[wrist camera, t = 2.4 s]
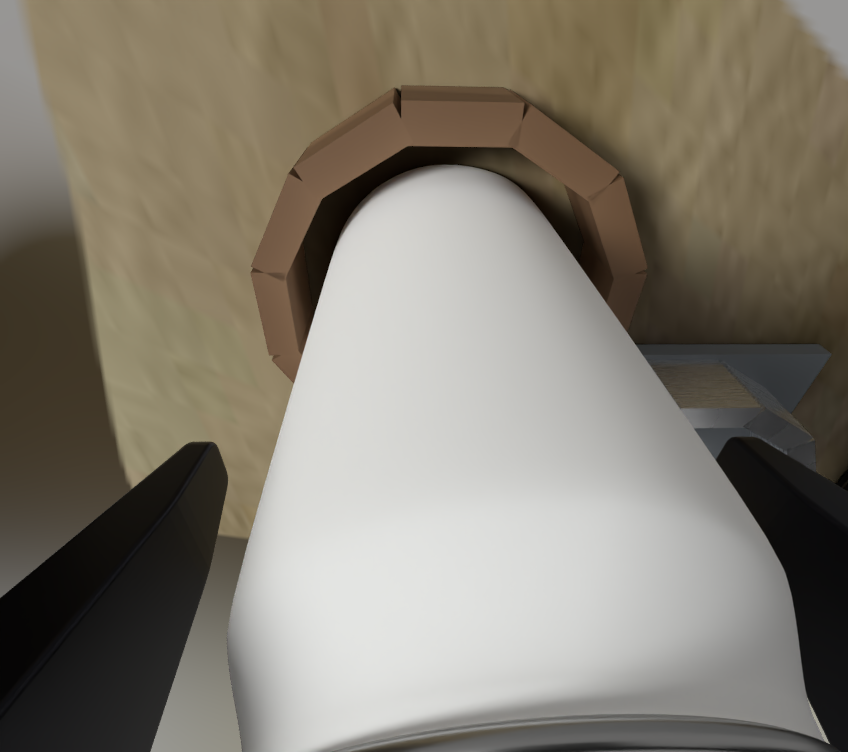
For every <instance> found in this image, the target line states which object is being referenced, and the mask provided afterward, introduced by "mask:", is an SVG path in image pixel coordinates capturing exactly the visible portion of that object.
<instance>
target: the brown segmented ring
mask: <svg viewBox="0 0 848 752" xmlns="http://www.w3.org/2000/svg"><path fill="white" fill-rule="evenodd" d="M407 146H446V147H512V148H514V149H515V150H517V151H518V152H519V153H521V154H522V155H524V156H525V157H527V158H528V159H529V160H531V161H532V162H534V163H535V164H536V165H538V166H539V167H541V168H542V169H544V170H545V171H546V172H548V173H549V174H551V175H552V176H553V177H555V178H556V179H558V180H559V181H561V182H562V183H563V184H564V185H565V188H566V191H567V194H568V197H569V200H570V202H571V205H572V208H573V211H574V214H575V217H576V220H577V223H578V225H579V228H580V231H581V234H582V237H583V240H584V243H583V248H582V252H581V256H580V260H579V265H580V266H581V268H582V269H583V271H584V272H585V273H586V275H587V276H588V278H589V279H590V281H591V282H592V283H593V285H594V286H595V288H596V289H597V290H598V292H599V293H600V295H601V296H602V298H603V299H604V300H605V302H606V303H607V305H608V306H609V308H610V309H611V310H612V312H613V313H614V315H615V316H616V318H617V319H618V320H619V322H620V323H621V325H622V326H623V328H624V329H625V330H626V332H628V329H629V326H630V323H631V321H632V318H633V315H634V312H635V309H636V306H637V303H638V300H639V297H640V294H641V291H642V288H643V285H644V282H645V280H646V277H647V273H646V272H645V271H644V270H645V269H647V268H648V267H647V264H646V260H645V256H644V252H643V249H642V245H641V241H640V237H639V234H638V230H637V226H636V222H635V219H634V215H633V211H632V207H631V204H630V200H629V196H628V192H627V189H626V185H625V181H624V178H623V177H622V176H621V175H619V174H618V173H619V171H618V170H617V169H615V168H614V167H613V166H611V165H610V164H609V163H607V162H606V161H605V160H604V159H602V158H601V157H600V156H598V155H597V154H596V153H594V152H593V151H592V150H590V149H589V148H588V147H586V146H585V145H584V144H582V143H581V142H580V141H579V140H577V139H576V138H575V137H573V136H572V135H571V134H569V133H568V132H567V131H565V130H564V129H563V128H561V127H560V126H559V125H557V124H556V123H555V122H554V121H552V120H551V119H550V118H548V117H547V116H546V115H544V114H543V113H542V112H540V111H539V110H538V109H536V108H535V107H534V106H532V105H531V104H530V103H528V102H527V101H525V100H524V99H523V98H521V97H520V96H518V95H517V94H515V93H514V92H513V91H511V90H510V91H508V90H506V89H505V88H504V87H455V86H405V85H402V87H401V99H400V97H399V95H398V93H397V91H396V89H395V88H393V89H392V90H390V91H389V92H387V93H385V94H384V95H382V96H381V97H379V98H378V99H376V100H375V101H373V102H372V103H370V104H369V105H367V106H366V107H364V108H363V109H361V110H360V111H358V112H357V113H355V114H354V115H352V116H351V117H349V118H348V119H346V120H345V121H343V122H342V123H340V124H339V125H337V126H336V127H334V128H333V129H331V130H330V131H328V132H327V133H325V134H324V135H322V136H321V137H319V138H317V139H316V140H314V141H313V142H311V144H310V145H309V147H308V148H307V149H306V150H305V152H304V153H303V154H302V156H301V157H300V158H299V160H298V161H297V163H296V164H295V165H294V167H293V168H292V170H291V171H290V172H289V174H288V176H287V179H286V181H285V184H284V186H283V189H282V191H281V194H280V196H279V198H278V201H277V203H276V206H275V208H274V211H273V213H272V216H271V218H270V221H269V223H268V226H267V228H266V231H265V233H264V235H263V238H262V240H261V243H260V245H259V248H258V250H257V253H256V255H255V258H254V260H253V263H252V265H251V267H253V269H252V271H251V277H252V281H253V286H254V290H255V295H256V299H257V304H258V308H259V312H260V317H261V321H262V326H263V330H264V335H265V339H266V343H267V348H268V352H269V355H274V356H273V359H272V361H273V362H274V363H275V364H276V365H277V366H278V367H279V368H280V369H281V370H282V371H283V373H284V374H285V375H286V376H287V377H288V378H289V379H290V380H291V381H292V382H293V383H294V382H295V379H296V375H297V372H298V369H299V365H300V362H301V358H302V355H303V352H304V348H305V345H306V341H307V338H308V335H309V331H310V328H311V325H312V321H313V318H314V315H315V310H314V308H313V307H312V301H311V294H310V287H309V280H308V273H307V266H306V259H305V252H304V245H303V239H304V237H305V234H306V232H307V230H308V228H309V226H310V223H311V221H312V219H313V217H314V215H315V213H316V210H317V208H318V206H319V204H320V202H321V200H322V198H324V197H326V196H327V195H329V194H331V193H332V192H334V191H335V190H337V189H339V188H340V187H342V186H344V185H345V184H347V183H348V182H350V181H352V180H353V179H355V178H357V177H358V176H360V175H361V174H363V173H365V172H366V171H368V170H370V169H371V168H373V167H374V166H376V165H378V164H379V163H381V162H383V161H384V160H386V159H387V158H389V157H391V156H392V155H394V154H395V153H397V152H399V151H400V150H402V149H404V148H405V147H407Z"/></svg>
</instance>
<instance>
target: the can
mask: <svg viewBox="0 0 848 752" xmlns="http://www.w3.org/2000/svg"><path fill="white" fill-rule="evenodd" d="M227 650H228V663H229V672H230V679H231V685H232V691H233V697H234V702H235V707H236V713H237V719H238V725H239V730H240V738H241V745H242V752H840V751H839V750H838V749H836V748H835V747H833V746H832V745H830V744H828V743H826V742H825V741H824V739H823V737H822V735H821V732H820V730H819V728H818V726H817V724H816V722H815V720H814V717H813V715H812V712H811V710H810V707H809V703H808V699H807V694H806V690H805V684H804V678H803V671H802V663H801V655H800V647H799V639H798V632H797V624H796V617H795V611H794V606H793V600H792V595H791V591H790V588H789V584H788V580H787V577H786V574H785V571H784V569H783V567H782V565H781V563H780V561H779V559H778V557H777V556H776V554H775V552H774V550H773V548H772V546H771V545H770V543H769V541H768V539H767V537H766V536H765V534H764V532H763V531H762V529H761V528H760V526H759V525H758V523H757V522H756V520H755V519H754V517H753V516H752V514H751V512H750V511H749V509H748V508H747V506H746V505H745V503H744V502H743V500H742V499H741V497H740V496H739V494H738V492H737V491H736V489H735V488H734V487H733V485H732V484H731V482H730V481H729V479H728V478H727V476H726V475H725V473H724V472H723V470H722V469H721V468H720V466H719V465H718V463H717V462H716V460H715V459H714V457H713V456H712V454H711V453H710V451H709V450H708V449H707V447H706V446H705V444H704V443H703V441H702V440H701V438H700V437H699V435H698V434H697V432H696V431H695V430H694V428H693V427H692V425H691V424H690V422H689V421H688V419H687V418H686V417H685V415H684V414H683V412H682V411H681V409H680V408H679V406H678V405H677V404H676V402H675V401H674V399H673V398H672V396H671V395H670V394H669V392H668V391H667V389H666V388H665V386H664V385H663V383H662V382H661V381H660V379H659V378H658V376H657V375H656V373H655V372H654V371H653V369H652V368H651V366H650V365H649V363H648V362H647V360H646V359H645V358H644V356H643V355H642V353H641V352H640V350H639V349H638V348H637V346H636V345H635V343H634V342H633V340H632V339H631V338H630V336H629V335H628V333H627V332H626V330H625V329H624V328H623V326H622V325H621V323H620V322H619V320H618V319H617V318H616V316H615V315H614V313H613V312H612V310H611V309H610V308H609V306H608V305H607V303H606V302H605V300H604V299H603V298H602V296H601V295H600V293H599V292H598V290H597V289H596V288H595V286H594V285H593V283H592V282H591V281H590V279H589V278H588V276H587V275H586V273H585V272H584V271H583V269H582V268H581V266H580V265H579V264H578V262H577V261H576V259H575V258H574V256H573V255H572V254H571V252H570V251H569V249H568V248H567V247H566V245H565V244H564V242H563V241H562V240H561V238H560V237H559V235H558V234H557V233H556V231H555V230H554V228H553V227H552V226H551V224H550V223H549V221H548V220H547V219H546V217H545V216H544V215H543V213H542V212H541V211H540V210H539V208H538V207H537V206H536V204H535V203H534V202H533V201H532V200H531V199H530V197H529V196H528V195H527V194H526V193H525V192H524V191H523V190H522V189H520V188H519V187H518V186H517V185H516V184H514V183H513V182H511V181H510V180H508V179H507V178H505V177H503V176H501V175H498V174H496V173H493V172H490V171H487V170H484V169H480V168H475V167H469V166H461V165H431V166H425V167H420V168H416V169H413V170H410V171H407V172H404V173H402V174H399V175H397V176H395V177H393V178H391V179H390V180H388V181H386V182H384V183H383V184H381V185H380V186H379V187H377V188H376V189H375V190H373V191H372V192H371V193H370V194H369V195H367V196H366V197H365V198H364V199H363V200H362V201H361V203H360V204H359V205H358V206H357V207H356V208H355V210H354V211H353V212H352V214H351V215H350V217H349V218H348V220H347V222H346V224H345V225H344V227H343V229H342V231H341V234H340V236H339V238H338V241H337V244H336V247H335V250H334V253H333V256H332V259H331V262H330V265H329V268H328V272H327V275H326V278H325V281H324V285H323V288H322V291H321V295H320V298H319V301H318V305H317V308H316V311H315V315H314V318H313V321H312V325H311V328H310V331H309V335H308V338H307V341H306V345H305V348H304V352H303V355H302V358H301V362H300V365H299V369H298V372H297V375H296V379H295V382H294V386H293V389H292V392H291V396H290V399H289V403H288V406H287V409H286V413H285V416H284V420H283V423H282V427H281V430H280V433H279V437H278V440H277V444H276V447H275V451H274V454H273V457H272V461H271V464H270V468H269V471H268V475H267V478H266V482H265V485H264V489H263V492H262V496H261V499H260V503H259V506H258V510H257V513H256V517H255V520H254V524H253V527H252V531H251V534H250V538H249V541H248V545H247V549H246V552H245V556H244V560H243V564H242V568H241V572H240V576H239V580H238V583H237V587H236V591H235V595H234V599H233V604H232V609H231V614H230V620H229V626H228V632H227Z"/></svg>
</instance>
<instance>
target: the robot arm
mask: <svg viewBox="0 0 848 752" xmlns="http://www.w3.org/2000/svg"><path fill="white" fill-rule="evenodd" d="M716 462H717V463H718V465H719V466H720V468H721V469H722V470H723V472H724V473H725V475H726V476H727V478H728V479H729V481H730V482H731V484H732V485H733V487H734V488H735V489H736V491H737V492H738V494H739V496H740V497H741V499H742V500H743V502H744V503H745V505H746V506H747V508H748V509H749V511H750V512H751V514H752V516H753V517H754V519H755V520H756V522H757V523H758V525H759V526H760V528H761V529H762V531H763V532H764V534H765V536H766V537H767V539H768V541H769V543H770V545H771V546H772V548H773V550H774V552H775V554H776V556H777V557H778V559H779V561H780V563H781V565H782V567H783V569H784V571H785V574H786V577H787V580H788V584H789V588H790V591H791V595H792V600H793V606H794V611H795V617H796V624H797V632H798V639H799V647H800V655H801V663H802V671H803V678H804V684H805V690H806V694H807V698H808V700H809V702H810V704H811V706H812V708H813V710H814V712H815V714H816V716H817V718H818V720H819V722H820V725H821V726H822V729H823V730H824V733H825V735H826V737H827V739H828V741H829V743H830V745H832V746H833V747H835V748H836V749H838V750H839V751H840V752H848V472H847V473H846V474H845V475H844V476H843V478H842V479H841V480H840V481H839V482H838V483H837V484H835V483H833V482H831V481H830V480H828V479H826V478H825V477H823V476H821V475H820V474H818V473H816V472H815V471H813V470H811V469H810V468H808V467H806V466H805V465H803V464H801V463H800V462H798V461H796V460H795V459H793V458H791V457H790V456H788V455H786V454H785V453H783V452H781V451H780V450H778V449H776V448H775V447H773V446H771V445H770V444H768V443H766V442H765V441H763V440H761V439H759V438H757V437H731V438H730V439H728V440H727V441H726V443H725V444H724V446H723V448H722V450H721V451H720V453H719V455H718V456H717V458H716ZM227 486H228V475H227V471H226V468H225V465H224V463H223V460H222V457H221V454H220V452H219V449H218V447H217V445H216V444H215V443H214V442H190V443H188V444H186V445H185V446H183V447H182V448H181V449H180V450H179V451H177V452H176V453H175V454H174V455H173V456H171V457H170V458H169V459H168V460H167V461H165V462H164V463H163V464H162V465H160V466H159V467H158V468H157V469H156V470H154V471H153V472H152V473H151V474H150V475H148V476H147V477H146V478H145V479H144V480H142V481H141V482H140V483H139V484H138V485H136V486H135V487H134V488H133V489H131V490H130V491H129V492H128V493H127V494H125V495H124V496H123V497H122V498H121V499H119V500H118V501H117V502H116V503H115V504H113V505H112V506H111V507H110V508H109V509H107V510H106V511H105V512H104V513H102V514H101V515H100V516H99V517H98V518H96V519H95V520H94V521H93V522H92V523H90V524H89V525H88V526H87V527H86V528H84V529H83V530H82V531H81V532H80V533H78V534H77V535H76V536H75V537H73V538H72V539H71V540H70V541H69V542H67V543H66V544H65V545H64V546H63V547H61V548H60V549H59V550H58V551H57V552H55V553H54V554H53V555H52V556H51V557H49V558H48V559H47V560H46V561H45V562H43V563H42V564H41V565H40V566H39V567H37V568H36V569H35V570H34V571H32V572H31V573H30V574H29V575H28V576H26V577H25V578H24V579H23V580H21V581H20V582H19V583H18V584H17V585H16V586H14V587H13V588H12V589H11V590H9V591H8V592H7V593H6V594H5V595H3V596H2V597H1V598H0V752H150V751H151V748H152V745H153V742H154V739H155V736H156V733H157V729H158V726H159V723H160V720H161V717H162V714H163V711H164V708H165V705H166V702H167V699H168V696H169V693H170V690H171V687H172V684H173V681H174V678H175V675H176V672H177V669H178V666H179V662H180V659H181V657H182V653H183V650H184V647H185V644H186V641H187V638H188V635H189V632H190V629H191V626H192V623H193V620H194V617H195V614H196V611H197V608H198V605H199V602H200V599H201V596H202V593H203V590H204V586H205V584H206V580H207V577H208V574H209V570H210V566H211V562H212V558H213V553H214V548H215V544H216V539H217V534H218V529H219V525H220V520H221V515H222V510H223V505H224V501H225V496H226V491H227Z"/></svg>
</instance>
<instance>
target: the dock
mask: <svg viewBox="0 0 848 752" xmlns="http://www.w3.org/2000/svg"><path fill="white" fill-rule="evenodd" d="M636 346H637V348H638V349H639V350H640V352H641V353H642V355H643V356H644V358H645V359H646V360H647V362H648V363H649V365H650V366H651V368H652V369H653V371H654V372H655V373H656V375H657V376H658V378H659V379H660V381H661V382H662V383H663V385H664V386H665V388H666V389H667V391H668V392H669V394H670V395H671V396H672V398H673V399H674V401H675V402H676V404H677V405H678V406H679V408H680V409H681V411H682V412H683V414H684V415H685V417H686V418H687V419H688V421H689V422H690V424H691V425H692V427H693V428H694V430H695V431H696V432H697V434H698V435H699V437H700V438H701V440H702V441H703V443H704V444H705V446H706V447H707V449H708V450H709V451H710V453H711V454H712V456H713V457H714V459H715V460H716V458H717V456H718V455H719V453H720V451H721V450H722V448H723V446H724V444H725V443H726V441H727V440H728V439H730V438H731V437H757V438H759V439H761V440H763V441H765V442H766V443H768V444H770V445H771V446H773V447H775V448H776V449H778V450H780V451H781V452H783V453H785V454H786V455H788V456H790V457H791V458H793V459H795V460H796V461H798V462H800V463H801V464H803V465H805V466H806V467H808V468H810V469H811V470H813V471H815V472H816V456H815V439H814V438H813V436H812V435H811V434H810V433H809V432H808V431H807V430H806V429H805V428H804V427H803V426H802V425H801V424H800V423H799V422H798V421H797V420H796V419H795V418H794V417H793V416H792V415H791V413H792V412H793V410H794V409H795V407H796V406H797V404H798V403H799V401H800V400H801V398H802V397H803V395H804V394H805V393H806V391H807V390H808V388H809V387H810V385H811V384H812V382H813V381H814V379H815V378H816V376H817V375H818V374H819V372H820V371H821V369H822V368H823V366H824V365H825V363H826V362H827V360H828V359H829V357H830V356H831V355H832V354H831V353H830V352H828V351H827V350H826V349H825V348H823V347H822V346H821V345H820V344H644V345H636Z"/></svg>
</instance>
